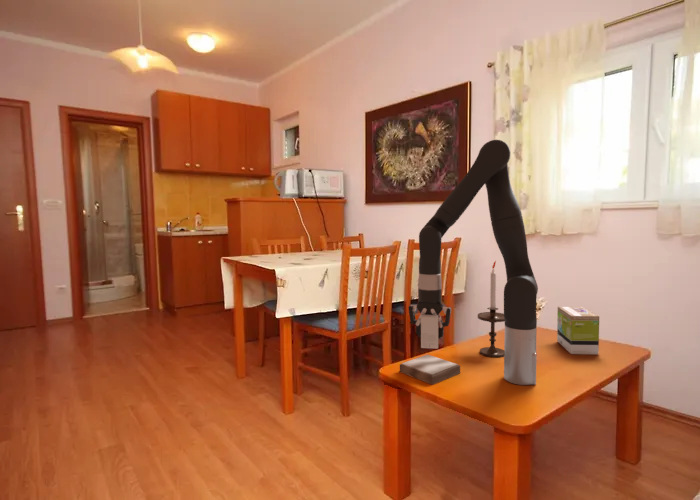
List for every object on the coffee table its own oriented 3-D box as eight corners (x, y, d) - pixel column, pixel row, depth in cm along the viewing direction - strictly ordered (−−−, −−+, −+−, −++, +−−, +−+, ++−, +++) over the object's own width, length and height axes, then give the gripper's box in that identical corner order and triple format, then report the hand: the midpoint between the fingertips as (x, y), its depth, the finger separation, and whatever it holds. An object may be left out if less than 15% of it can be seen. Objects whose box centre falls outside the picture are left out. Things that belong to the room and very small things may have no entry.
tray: (460, 373, 138) (460, 364, 138) (432, 384, 129) (432, 375, 129) (427, 362, 149) (427, 353, 149) (399, 371, 140) (399, 363, 140)
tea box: (556, 341, 169) (556, 305, 167) (582, 342, 167) (583, 306, 166) (570, 354, 154) (571, 314, 152) (599, 355, 152) (600, 315, 151)
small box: (438, 349, 134) (438, 317, 133) (420, 348, 135) (420, 316, 134) (438, 341, 142) (438, 311, 141) (421, 340, 143) (421, 310, 142)
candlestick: (506, 349, 160) (507, 258, 157) (509, 359, 150) (511, 262, 147) (476, 347, 163) (477, 258, 160) (478, 357, 153) (478, 262, 149)
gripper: (453, 286, 137) (453, 336, 139) (410, 284, 143) (410, 332, 144) (450, 290, 130) (450, 342, 132) (405, 287, 136) (405, 338, 137)
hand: (429, 337), depth 138 cm, fingers closed on small box, 6 cm apart
